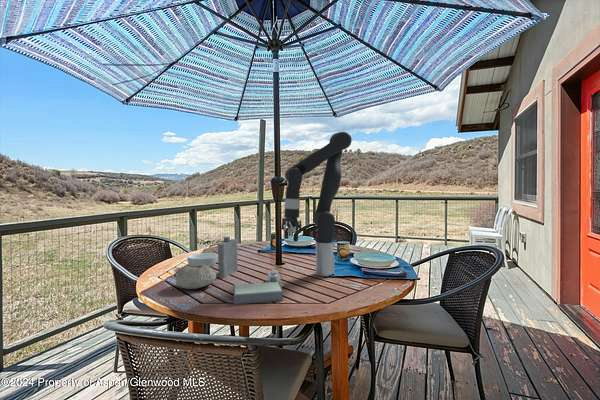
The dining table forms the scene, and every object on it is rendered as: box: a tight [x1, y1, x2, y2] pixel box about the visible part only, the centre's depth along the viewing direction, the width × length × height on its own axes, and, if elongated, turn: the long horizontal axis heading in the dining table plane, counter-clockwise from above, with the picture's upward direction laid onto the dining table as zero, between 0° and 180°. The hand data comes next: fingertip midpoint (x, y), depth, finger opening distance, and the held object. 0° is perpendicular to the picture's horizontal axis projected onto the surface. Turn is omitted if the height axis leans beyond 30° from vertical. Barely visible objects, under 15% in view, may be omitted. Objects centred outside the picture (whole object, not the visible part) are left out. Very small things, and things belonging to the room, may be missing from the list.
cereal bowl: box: [187, 252, 218, 268], centre depth 190 cm, size 17×17×7 cm
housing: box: [265, 269, 284, 288], centre depth 159 cm, size 7×11×6 cm, turn 12°
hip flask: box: [217, 236, 239, 279], centre depth 176 cm, size 16×4×20 cm, turn 161°
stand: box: [233, 282, 284, 305], centre depth 142 cm, size 20×13×4 cm, turn 102°
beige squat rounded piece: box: [175, 265, 217, 290], centre depth 156 cm, size 18×18×10 cm
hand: (290, 239), depth 167 cm, fingers open, 8 cm apart
